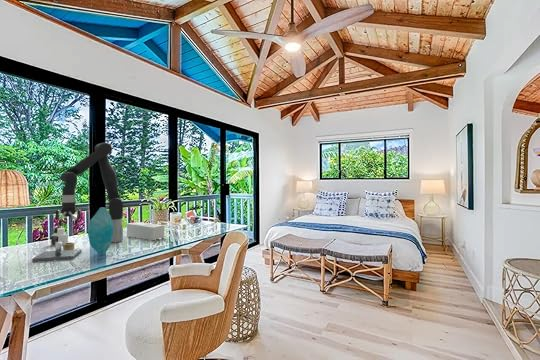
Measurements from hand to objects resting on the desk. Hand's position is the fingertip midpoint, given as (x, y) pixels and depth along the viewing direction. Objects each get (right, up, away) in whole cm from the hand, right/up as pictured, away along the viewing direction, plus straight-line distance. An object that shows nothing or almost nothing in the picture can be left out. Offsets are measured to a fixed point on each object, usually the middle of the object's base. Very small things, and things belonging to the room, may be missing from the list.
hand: (68, 225), depth 189 cm
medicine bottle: (-16, -16, +13) cm, 26 cm away
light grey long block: (+34, -17, +40) cm, 55 cm away
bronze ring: (0, -16, 0) cm, 16 cm away
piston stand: (+6, -17, -17) cm, 25 cm away
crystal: (+28, -17, -10) cm, 34 cm away
